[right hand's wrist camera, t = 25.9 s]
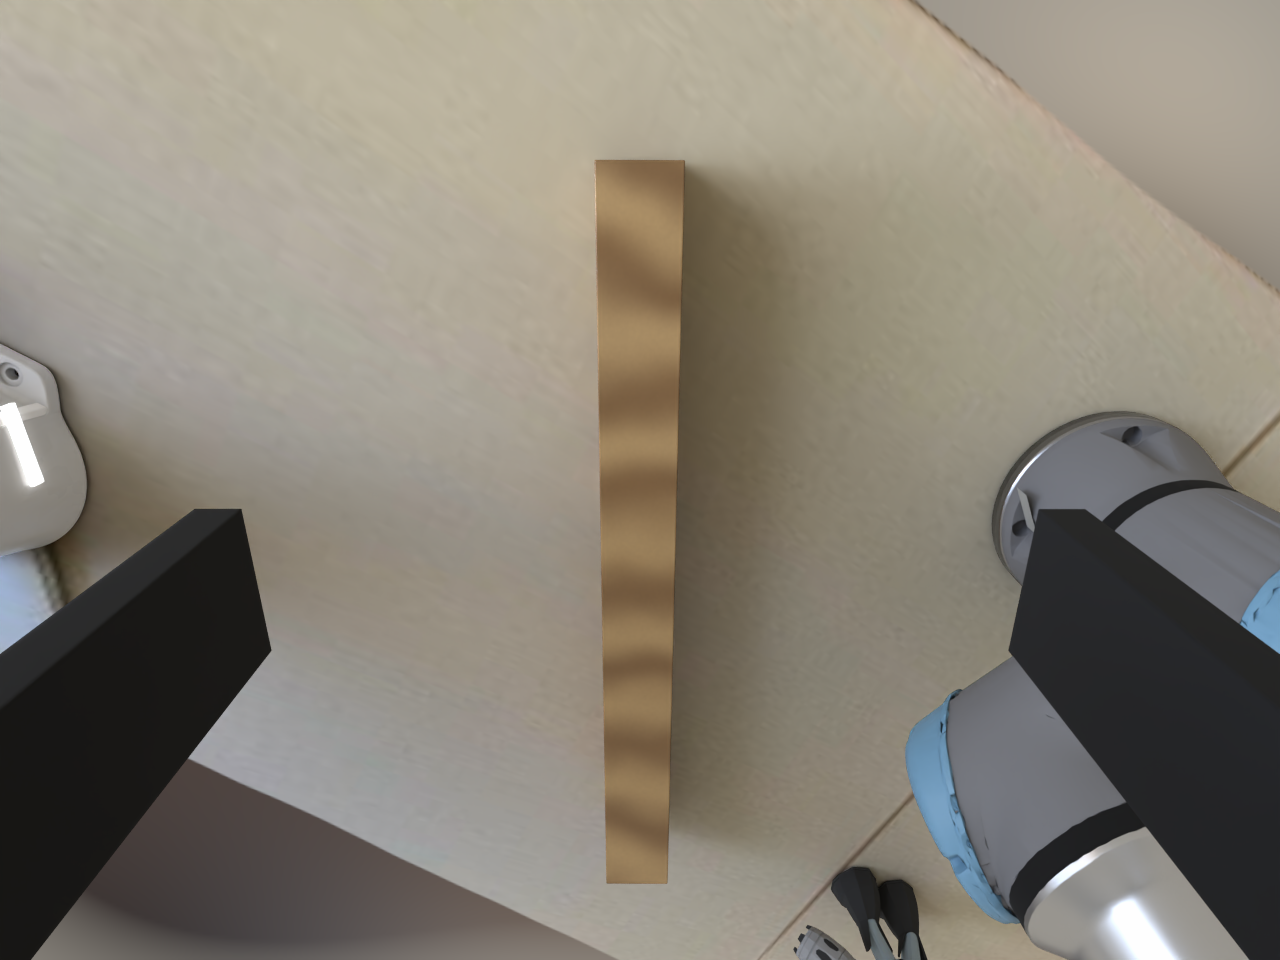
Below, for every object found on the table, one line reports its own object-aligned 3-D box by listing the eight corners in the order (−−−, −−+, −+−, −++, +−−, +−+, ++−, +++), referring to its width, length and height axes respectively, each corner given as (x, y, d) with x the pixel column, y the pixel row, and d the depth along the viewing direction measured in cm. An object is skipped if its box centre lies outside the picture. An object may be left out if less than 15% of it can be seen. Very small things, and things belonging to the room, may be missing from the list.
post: (600, 162, 48) (594, 159, 41) (678, 162, 48) (684, 160, 41) (609, 813, 68) (606, 883, 61) (664, 813, 68) (667, 884, 61)
